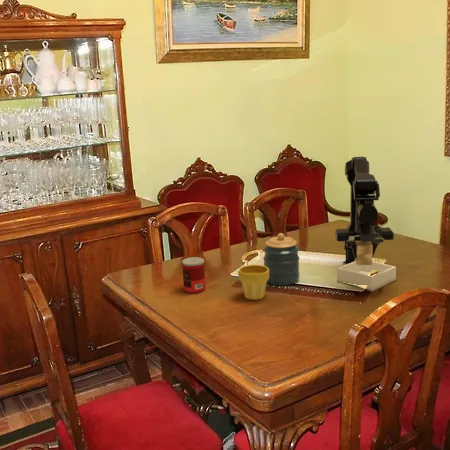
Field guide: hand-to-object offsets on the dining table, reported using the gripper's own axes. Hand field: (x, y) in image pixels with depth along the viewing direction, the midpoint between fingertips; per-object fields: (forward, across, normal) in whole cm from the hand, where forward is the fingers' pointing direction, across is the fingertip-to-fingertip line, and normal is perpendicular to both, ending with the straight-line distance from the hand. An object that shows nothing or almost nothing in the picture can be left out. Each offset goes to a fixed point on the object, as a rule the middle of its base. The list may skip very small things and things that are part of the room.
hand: (363, 258), depth 200 cm
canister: (+11, -28, +10) cm, 31 cm away
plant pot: (+11, -38, -6) cm, 40 cm away
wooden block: (+2, 0, 0) cm, 2 cm away
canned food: (+11, -59, +2) cm, 60 cm away
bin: (+11, +2, +6) cm, 13 cm away
